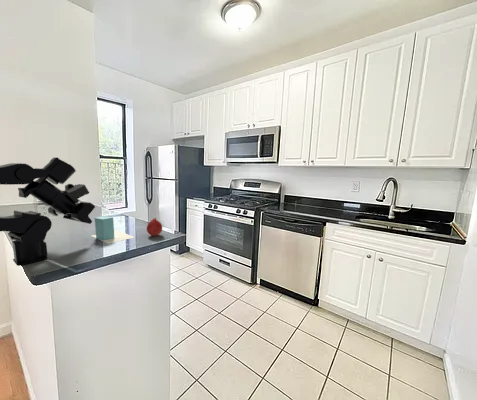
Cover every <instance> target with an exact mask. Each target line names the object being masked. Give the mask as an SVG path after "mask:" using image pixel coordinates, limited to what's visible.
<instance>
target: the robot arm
mask: <svg viewBox="0 0 477 400" xmlns="http://www.w3.org/2000/svg"><path fill="white" fill-rule="evenodd" d="M76 172H77V170H76V168H75V167H74V166H73V165H71V164H69V163H68V162H66V161H65V160H64V161H63V160H62V159H60V158H59V157H52V158H51V159H50V160H49V162H48V163H47V164H45V166H44V167H42V168H37V167H35V168H33V166H31V165H29V164H28V163H21V162H20V163H19V162H17V163H13V162H10V163H7V164H1V165H0V185H11V186H12V185H25V186H24V187H18V188H17V190H18V197H19V198H24V199H26V198H28V197H29V196H32V197H33V198H35V199H37V200H38V201H40V202H41V203H43V205H44V206H46V207H48V208H47V212H48V214H50V215H52V216H53V217H58V216H59V215H62V216H63V219H67V220H69V221H70V220H71V221H76V222H80V223H84V224H90V225H91V224H92V223H93V220H92V219H91V217H90V216H89V215H90V214H91V213H92V212H93V210H94V209H96V206H95V205H94V204H93V203H92V202H89V201H81V202H80V198H82V197H84V196H86V195H89V194H90V191H89V189H88V188H87V186H86V184H80V183H79V184H78V183H77V184H72V183H67V184H66V185H64V184H65V182H67V181H68V180H69V179H70V178H71V177H72V176H73V175H74V174H75V173H76ZM36 179H37V180H36ZM58 184H61V185H64V190H61V189H60V188H59V187H57V186H56V185H58ZM52 226H53V225H52V220H51V219H50V218H49V217H48V216H45V215H42V213H41V212H38V211H33V210H29V211H21V210H20V211H19V210H13V215H7V216H0V232H8V233H7V235H8V237H9V238H10V239H11V240H12V242H11V245H12V251H13V256H14V257H13V259H12V261H13V262H14V264H15V265H16V266H17V267H19V266H20V267H21V266H23V265H24V266H25V265H28V264H32V263H36V262H40V261H44V260H48V248H47V247H48V246H47V242H46V241H45V240H46V238H47V237H46V236H47V234H48V232H49V231H50V230H51V228H52Z"/></svg>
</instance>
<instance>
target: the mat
mask: <svg viewBox="0 0 477 400" xmlns="http://www.w3.org/2000/svg"><path fill="white" fill-rule="evenodd" d="M91 237H92V238H95V239H96V234H93V235H91ZM134 238H135V236H133V235H130V234H128V233H125V232H122V231H119V230H114V238H112V239H108V240H100V239H98V240H99V241H102V242H104V243H106V244H109V245H110V244H114V243H117V242H122V241H126V240H130V239H134Z"/></svg>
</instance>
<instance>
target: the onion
mask: <svg viewBox="0 0 477 400" xmlns="http://www.w3.org/2000/svg"><path fill="white" fill-rule="evenodd" d="M162 231H163V224H162V222H160V221H159V220H158V219H157V218H156V217H153V218H152V220H150V221H148V224H147V226H146V232H147V234H149V235H150V236H152V237H157V236H159V235H160V234H161V233H162Z"/></svg>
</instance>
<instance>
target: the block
mask: <svg viewBox="0 0 477 400" xmlns="http://www.w3.org/2000/svg"><path fill="white" fill-rule="evenodd" d="M94 225H95V228H94V229H95V235H96V238H95V239H97V240H99V239H100V240H99V241H101V240H108V239H112V238H114V231H115V227H114V225H115V224H114V217H113V216H106V215H104V216H103V215H102V216H98V217H94Z"/></svg>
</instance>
